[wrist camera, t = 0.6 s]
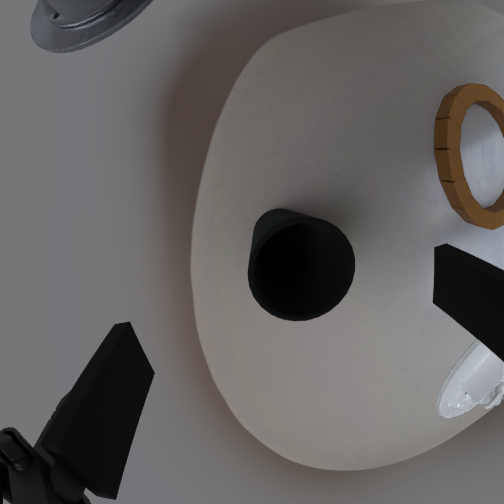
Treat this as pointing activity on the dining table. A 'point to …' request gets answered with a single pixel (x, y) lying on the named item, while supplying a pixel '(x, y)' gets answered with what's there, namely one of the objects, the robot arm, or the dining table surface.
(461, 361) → the dish
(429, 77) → the dining table surface
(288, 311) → the cup
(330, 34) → the dining table surface
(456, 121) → the orange-brown segmented ring
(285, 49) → the dining table surface
